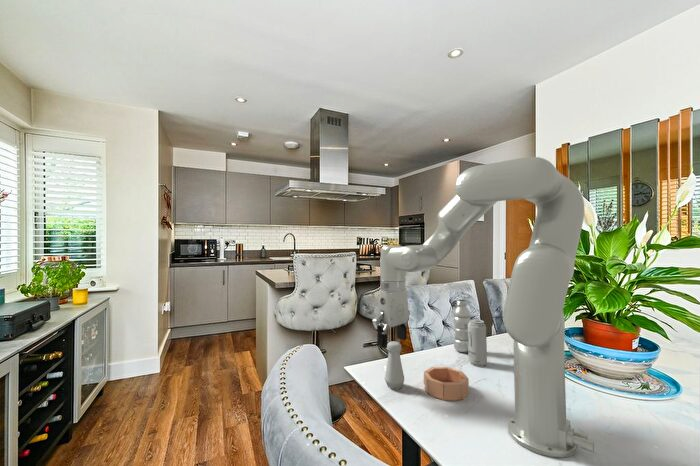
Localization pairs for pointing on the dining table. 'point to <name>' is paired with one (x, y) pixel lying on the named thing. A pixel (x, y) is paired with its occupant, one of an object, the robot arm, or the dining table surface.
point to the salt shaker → (394, 367)
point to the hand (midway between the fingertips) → (392, 342)
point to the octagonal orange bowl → (446, 383)
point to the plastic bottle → (461, 326)
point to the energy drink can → (477, 343)
